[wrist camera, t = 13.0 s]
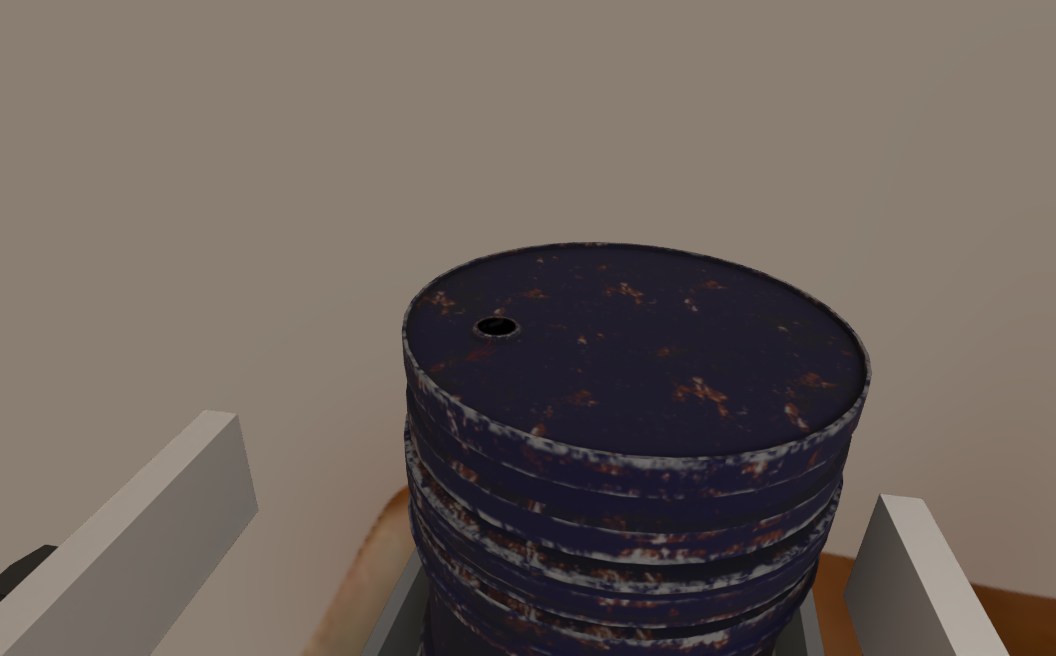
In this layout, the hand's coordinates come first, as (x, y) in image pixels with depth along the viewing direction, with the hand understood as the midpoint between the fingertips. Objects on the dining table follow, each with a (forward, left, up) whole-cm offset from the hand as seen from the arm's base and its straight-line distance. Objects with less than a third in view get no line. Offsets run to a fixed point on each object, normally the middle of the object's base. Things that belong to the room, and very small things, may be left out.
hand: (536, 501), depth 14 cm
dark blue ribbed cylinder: (-1, -3, -12) cm, 12 cm away
